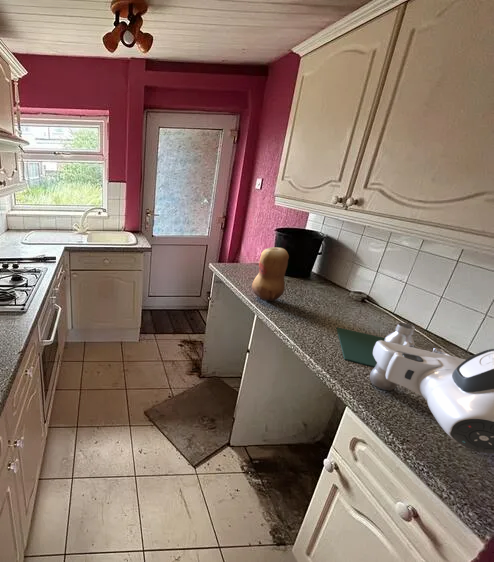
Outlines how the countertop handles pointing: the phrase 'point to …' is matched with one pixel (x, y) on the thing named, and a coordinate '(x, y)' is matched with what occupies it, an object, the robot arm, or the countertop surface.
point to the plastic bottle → (396, 337)
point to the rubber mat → (358, 346)
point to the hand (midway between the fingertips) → (421, 347)
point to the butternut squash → (271, 274)
